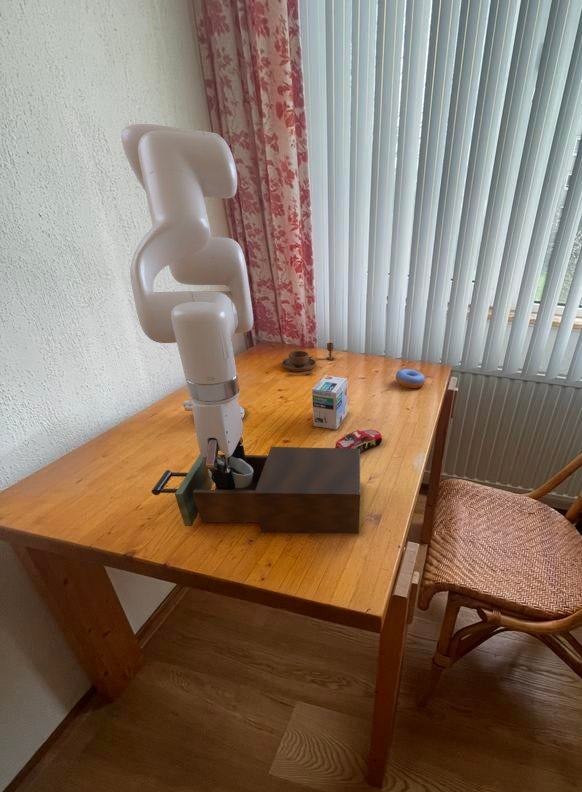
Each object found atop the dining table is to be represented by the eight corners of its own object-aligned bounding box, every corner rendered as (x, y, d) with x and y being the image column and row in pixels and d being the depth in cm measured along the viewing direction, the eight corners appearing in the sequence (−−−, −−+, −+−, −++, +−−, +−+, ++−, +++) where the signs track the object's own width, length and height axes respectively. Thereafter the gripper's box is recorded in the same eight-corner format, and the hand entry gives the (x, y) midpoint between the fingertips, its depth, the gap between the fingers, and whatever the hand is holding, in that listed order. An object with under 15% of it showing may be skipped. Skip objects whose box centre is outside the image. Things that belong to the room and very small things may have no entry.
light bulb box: (336, 430, 102) (336, 393, 96) (312, 426, 103) (310, 389, 97) (348, 413, 111) (348, 377, 105) (325, 409, 112) (324, 374, 106)
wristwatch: (201, 478, 71) (195, 456, 68) (228, 462, 76) (224, 440, 73) (237, 496, 68) (232, 473, 65) (263, 478, 72) (259, 456, 70)
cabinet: (260, 532, 70) (254, 492, 64) (275, 483, 82) (271, 446, 77) (359, 533, 71) (360, 494, 66) (359, 484, 83) (360, 448, 78)
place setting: (280, 359, 144) (278, 343, 141) (333, 357, 149) (332, 341, 146) (284, 376, 130) (283, 359, 127) (342, 373, 136) (342, 357, 132)
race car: (372, 434, 102) (372, 421, 99) (386, 443, 98) (387, 429, 96) (331, 450, 94) (331, 436, 92) (345, 460, 91) (345, 445, 88)
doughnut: (426, 381, 134) (427, 369, 132) (421, 392, 126) (422, 379, 124) (398, 377, 136) (399, 364, 133) (392, 388, 128) (393, 374, 125)
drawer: (149, 526, 68) (136, 493, 64) (179, 480, 79) (169, 450, 75) (279, 526, 70) (274, 495, 66) (290, 481, 81) (287, 452, 77)
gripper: (207, 365, 68) (224, 449, 78) (167, 410, 54) (194, 506, 64) (250, 367, 69) (262, 450, 79) (222, 412, 54) (240, 506, 65)
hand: (231, 474), depth 71 cm, fingers closed on wristwatch, 7 cm apart
